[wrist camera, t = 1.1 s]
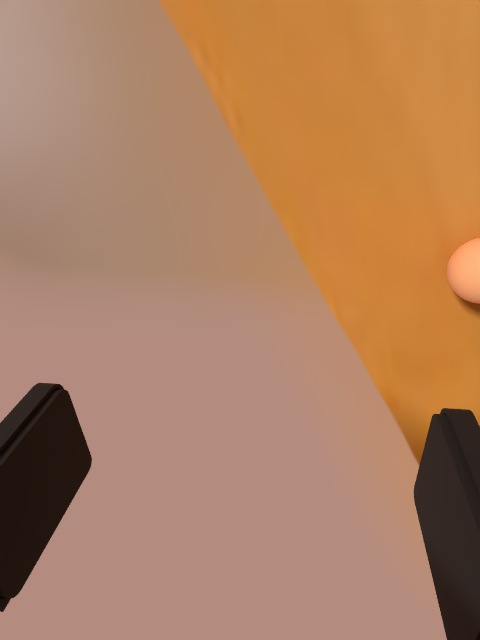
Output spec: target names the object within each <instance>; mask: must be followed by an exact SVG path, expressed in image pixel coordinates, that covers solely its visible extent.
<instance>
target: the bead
mask: <svg viewBox="0 0 480 640" xmlns="http://www.w3.org/2000/svg"><path fill="white" fill-rule="evenodd" d="M447 279H448V282H449V285H450V287H451V288H452V290H453V291H454V292H455V293H456V294H457V295H458V296H459V297H461V298H462V299H464V300H466V301H469V302H472V303H477V304H480V238H476V239H473V240H470V241H468V242H466V243H464V244H463V245H461V246H460V247H459V248H458V249H457V250H456V251H455V252H454V253H453V255H452V256H451V258H450V260H449V262H448V266H447Z"/></svg>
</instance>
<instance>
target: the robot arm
mask: <svg viewBox="0 0 480 640" xmlns="http://www.w3.org/2000/svg"><path fill="white" fill-rule="evenodd" d="M91 461H92V458H91V454H90V451H89V449H88V446H87V443H86V440H85V437H84V435H83V432H82V429H81V426H80V424H79V421H78V418H77V415H76V412H75V409H74V407H73V404H72V401H71V398H70V395H69V393H68V391H66V390H64V388H63V387H62V386H61V385H60V384H49V383H38V384H36V385H35V386H33V388H32V389H31V390H30V391H29V392H28V393H27V394H26V395H25V396H24V397H23V399H22V400H21V401H20V402H19V403H18V404H17V405H16V406H15V407H14V409H13V410H12V411H11V412H10V413H9V414H8V415H7V416H6V417H5V418H4V420H3V421H2V422H1V423H0V611H1V612H3V611H4V609H5V608H6V606H7V604H8V603H9V601H10V599H11V598H14V597H15V596H16V595H17V594H18V593H19V592H20V591H21V589H22V587H23V586H24V584H25V582H26V580H27V579H28V577H29V575H30V573H31V572H32V570H33V568H34V566H35V565H36V563H37V561H38V559H39V558H40V556H41V554H42V552H43V550H44V549H45V547H46V545H47V544H48V542H49V540H50V538H51V537H52V535H53V533H54V531H55V530H56V528H57V526H58V524H59V522H60V521H61V519H62V517H63V515H64V514H65V512H66V510H67V508H68V507H69V505H70V503H71V501H72V500H73V498H74V496H75V494H76V493H77V491H78V489H79V487H80V486H81V484H82V482H83V480H84V479H85V477H86V475H87V473H88V472H89V470H90V467H91ZM414 499H415V506H416V509H417V514H418V518H419V522H420V527H421V530H422V535H423V539H424V543H425V548H426V552H427V556H428V560H429V564H430V569H431V573H432V577H433V582H434V586H435V590H436V594H437V599H438V603H439V607H440V611H441V616H442V619H443V624H444V628H445V632H446V637H447V640H480V427H479V425H478V422H477V420H476V418H475V416H474V414H473V413H472V411H470V410H463V409H447V408H443V409H442V410H441V413H440V414H434V415H433V416H432V419H431V423H430V427H429V431H428V435H427V439H426V443H425V447H424V451H423V455H422V458H421V462H420V466H419V470H418V474H417V479H416V482H415V486H414Z"/></svg>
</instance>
